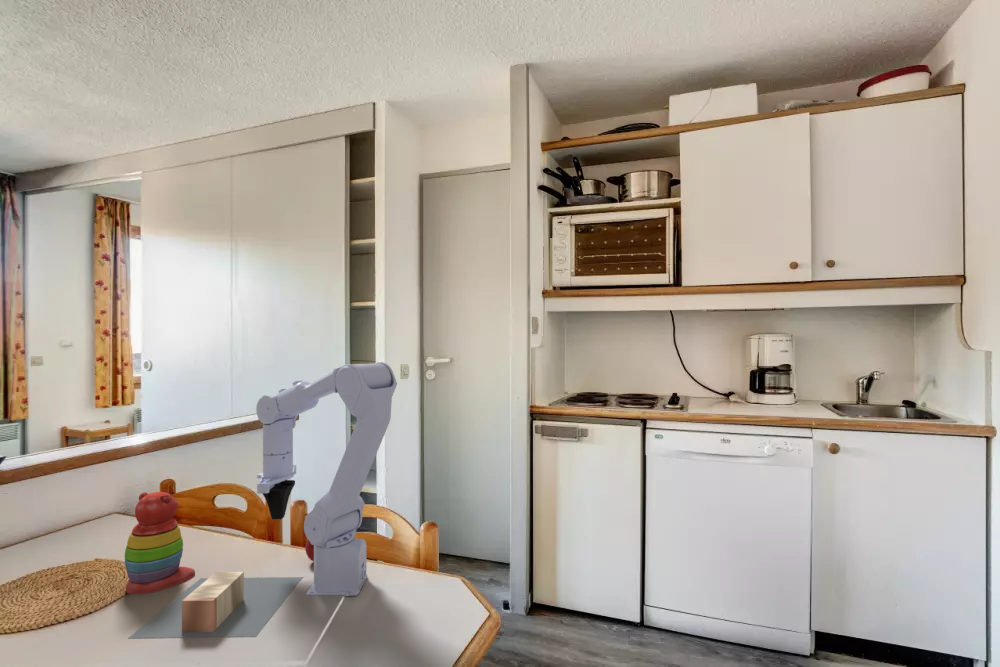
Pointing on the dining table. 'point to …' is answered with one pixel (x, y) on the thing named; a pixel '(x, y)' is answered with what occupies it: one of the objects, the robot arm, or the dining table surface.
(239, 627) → the slate mat
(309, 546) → the onion
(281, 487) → the robot arm
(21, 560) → the dining table surface
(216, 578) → the beech block
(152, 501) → the stacking bear
